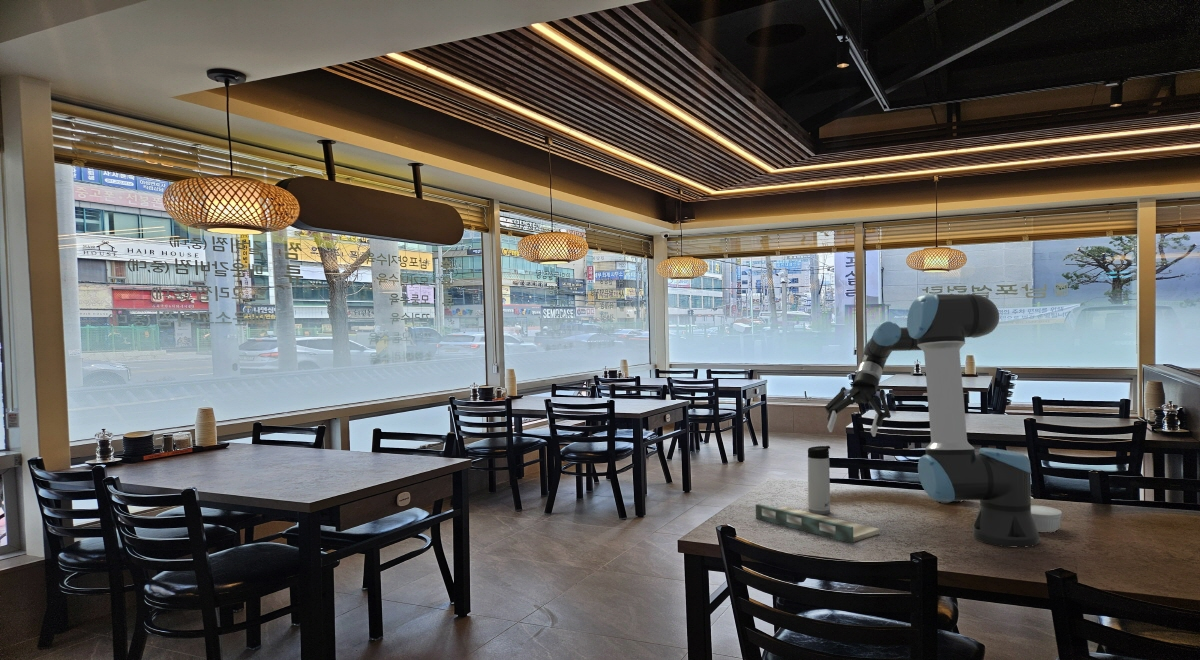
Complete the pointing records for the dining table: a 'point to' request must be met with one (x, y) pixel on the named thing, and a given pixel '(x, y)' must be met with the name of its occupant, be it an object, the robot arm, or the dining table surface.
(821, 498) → the travel mug
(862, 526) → the shelf
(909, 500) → the dining table surface
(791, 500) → the dining table surface
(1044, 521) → the ramekin
